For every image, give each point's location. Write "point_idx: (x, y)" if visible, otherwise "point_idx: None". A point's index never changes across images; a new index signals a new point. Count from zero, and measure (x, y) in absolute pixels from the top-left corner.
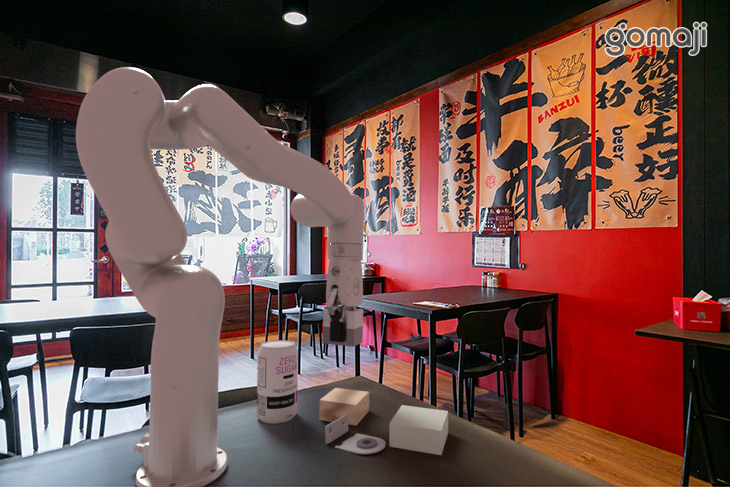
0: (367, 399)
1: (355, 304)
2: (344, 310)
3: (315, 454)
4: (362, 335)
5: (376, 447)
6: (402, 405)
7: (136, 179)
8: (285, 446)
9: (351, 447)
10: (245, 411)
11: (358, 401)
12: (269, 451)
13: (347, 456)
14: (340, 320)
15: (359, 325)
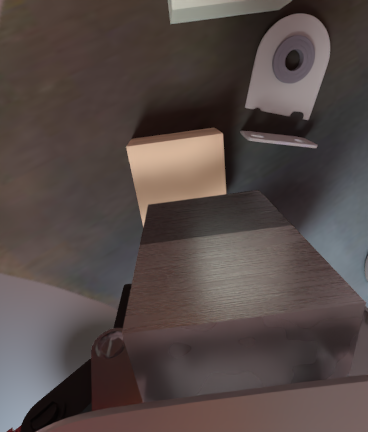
0: (141, 142)
1: (288, 399)
2: (365, 374)
3: (340, 135)
4: (145, 218)
5: (304, 30)
6: (174, 6)
7: None
8: (326, 193)
9: (308, 85)
10: None
11: (200, 139)
12: (345, 203)
13: (335, 78)
14: (365, 314)
15: (203, 241)
